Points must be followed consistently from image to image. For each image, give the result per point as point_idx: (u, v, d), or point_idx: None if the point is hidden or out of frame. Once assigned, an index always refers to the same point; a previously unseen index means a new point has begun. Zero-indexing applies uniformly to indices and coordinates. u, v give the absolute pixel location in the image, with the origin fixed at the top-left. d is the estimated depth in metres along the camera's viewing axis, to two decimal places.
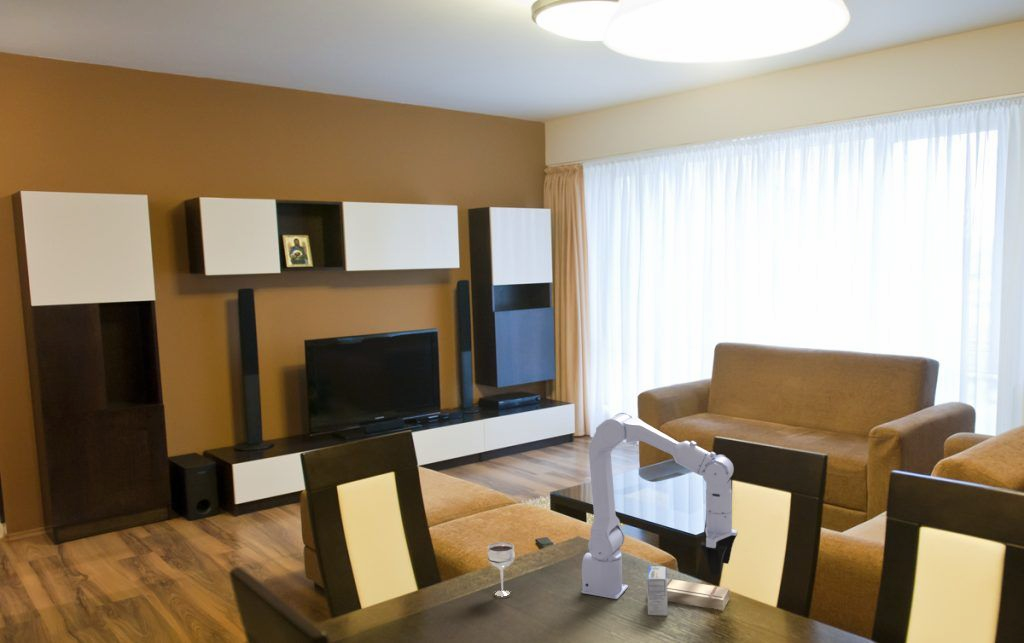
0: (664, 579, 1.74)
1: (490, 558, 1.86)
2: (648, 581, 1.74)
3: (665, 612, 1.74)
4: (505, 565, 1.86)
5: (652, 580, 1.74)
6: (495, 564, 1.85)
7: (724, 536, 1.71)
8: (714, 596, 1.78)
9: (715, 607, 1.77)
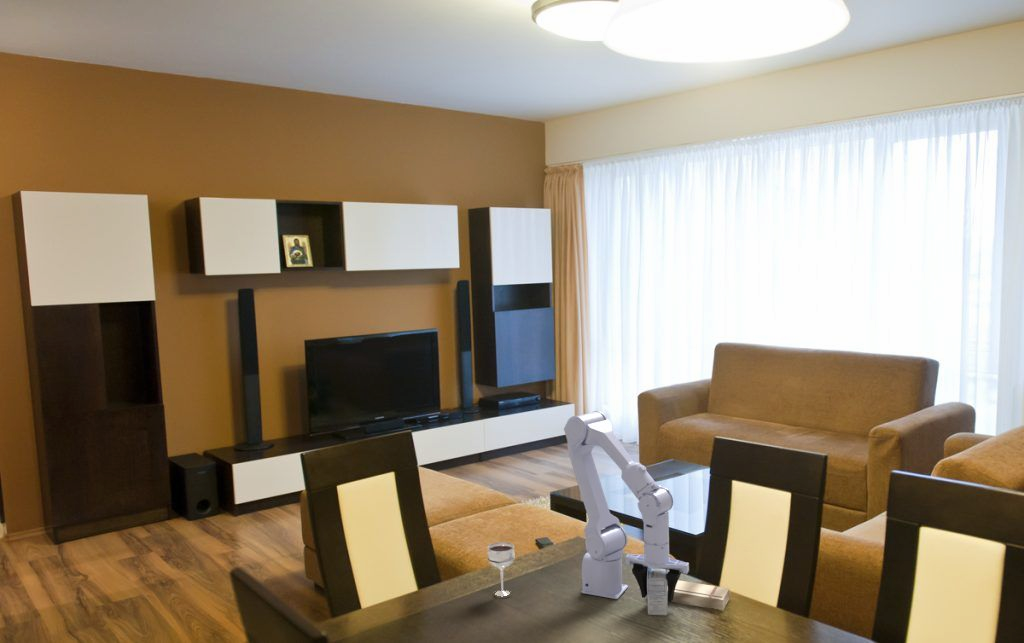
0: (664, 579, 1.74)
1: (490, 558, 1.86)
2: (648, 581, 1.74)
3: (665, 612, 1.74)
4: (505, 565, 1.86)
5: (652, 580, 1.74)
6: (495, 564, 1.85)
7: (640, 561, 1.77)
8: (714, 596, 1.78)
9: (715, 607, 1.77)
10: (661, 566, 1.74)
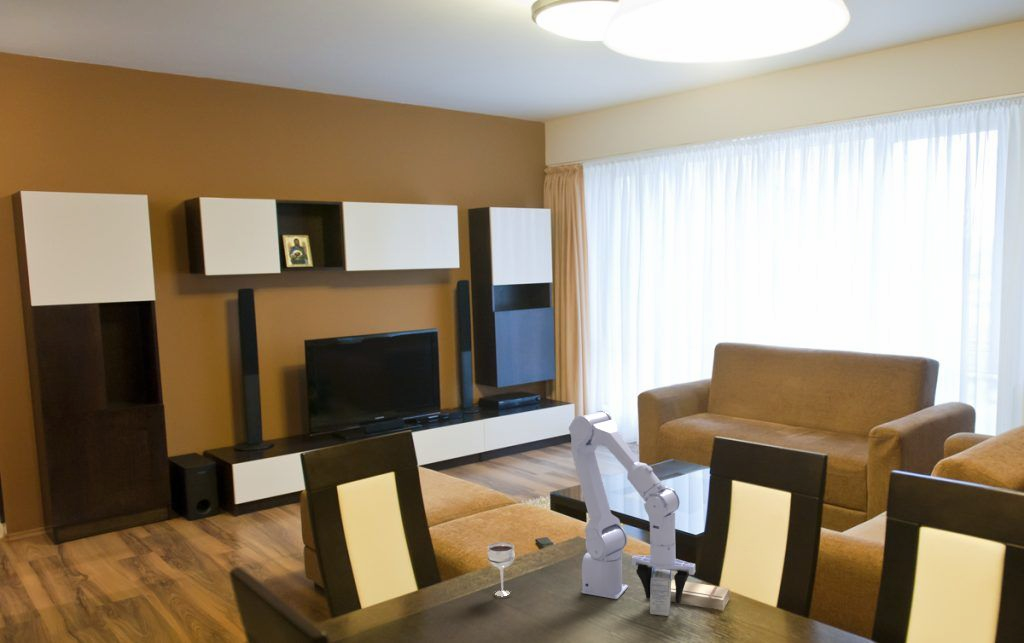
0: (668, 579, 1.73)
1: (490, 558, 1.86)
2: (652, 580, 1.74)
3: (667, 612, 1.74)
4: (505, 565, 1.86)
5: (655, 580, 1.74)
6: (495, 564, 1.85)
7: (646, 562, 1.76)
8: (714, 596, 1.78)
9: (715, 607, 1.77)
10: (667, 567, 1.74)
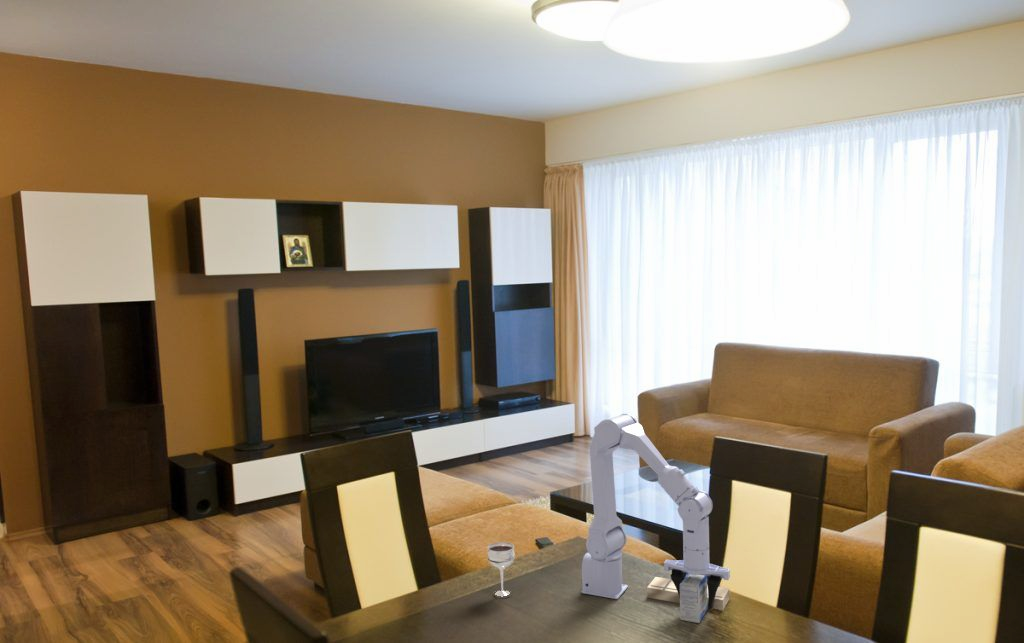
0: (697, 585, 1.70)
1: (490, 558, 1.86)
2: (681, 585, 1.71)
3: (697, 619, 1.70)
4: (505, 565, 1.86)
5: (684, 585, 1.71)
6: (495, 564, 1.85)
7: (679, 567, 1.73)
8: None
9: (715, 607, 1.77)
10: (702, 572, 1.70)
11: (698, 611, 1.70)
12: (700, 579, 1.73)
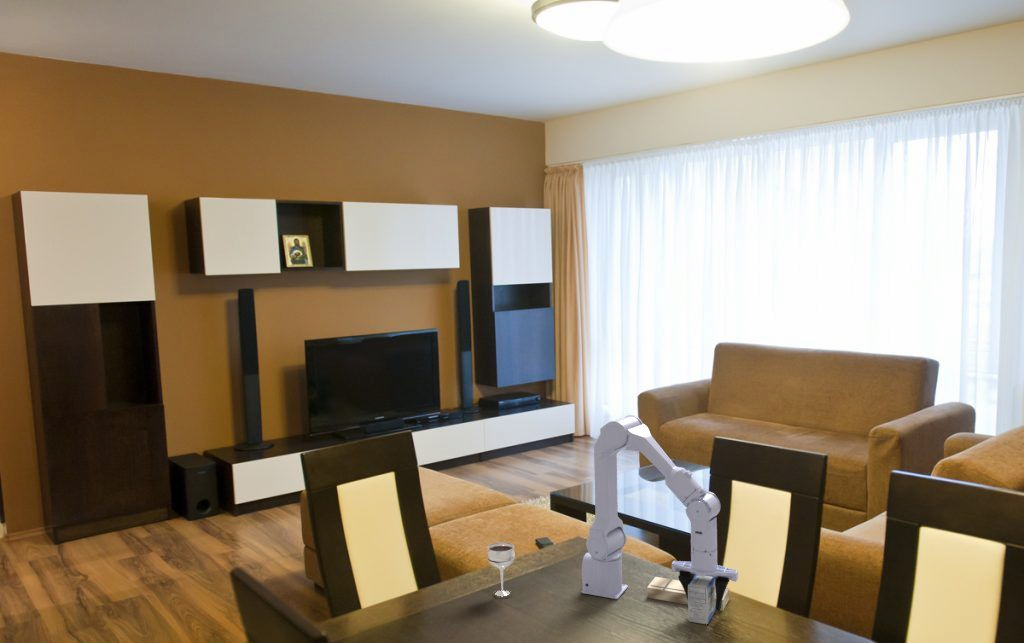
0: (705, 587, 1.69)
1: (490, 558, 1.86)
2: (689, 587, 1.70)
3: (705, 620, 1.69)
4: (505, 565, 1.86)
5: (692, 587, 1.70)
6: (495, 564, 1.85)
7: (687, 568, 1.72)
8: None
9: (715, 607, 1.77)
10: (709, 573, 1.69)
11: (706, 612, 1.69)
12: (708, 580, 1.72)
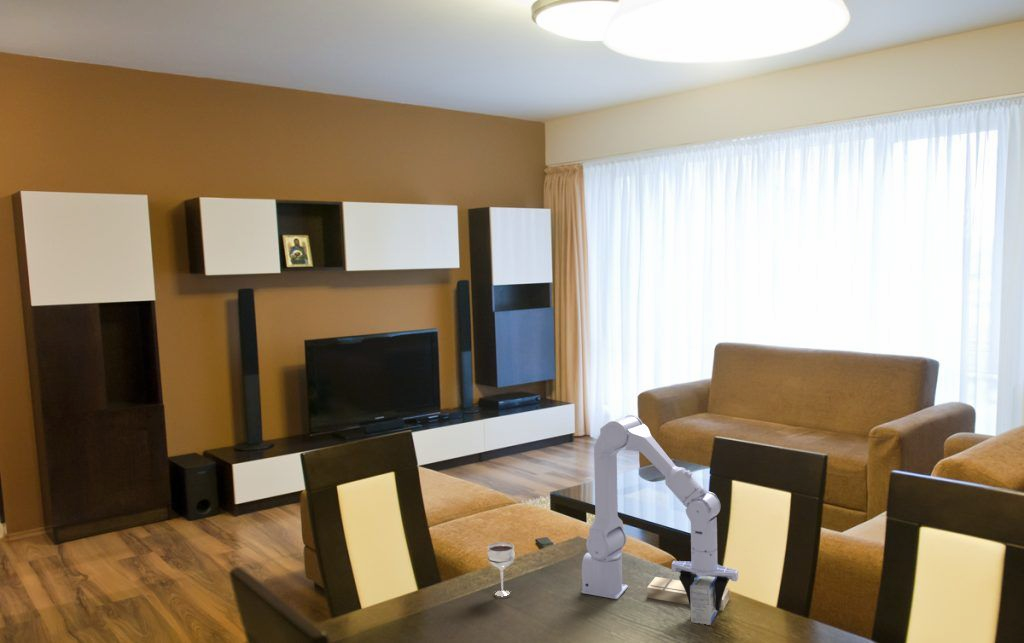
0: (708, 587, 1.68)
1: (490, 558, 1.86)
2: (691, 588, 1.70)
3: (708, 621, 1.69)
4: (505, 565, 1.86)
5: (695, 587, 1.70)
6: (495, 564, 1.85)
7: (687, 568, 1.72)
8: None
9: None
10: (710, 573, 1.69)
11: (709, 613, 1.69)
12: (710, 581, 1.72)
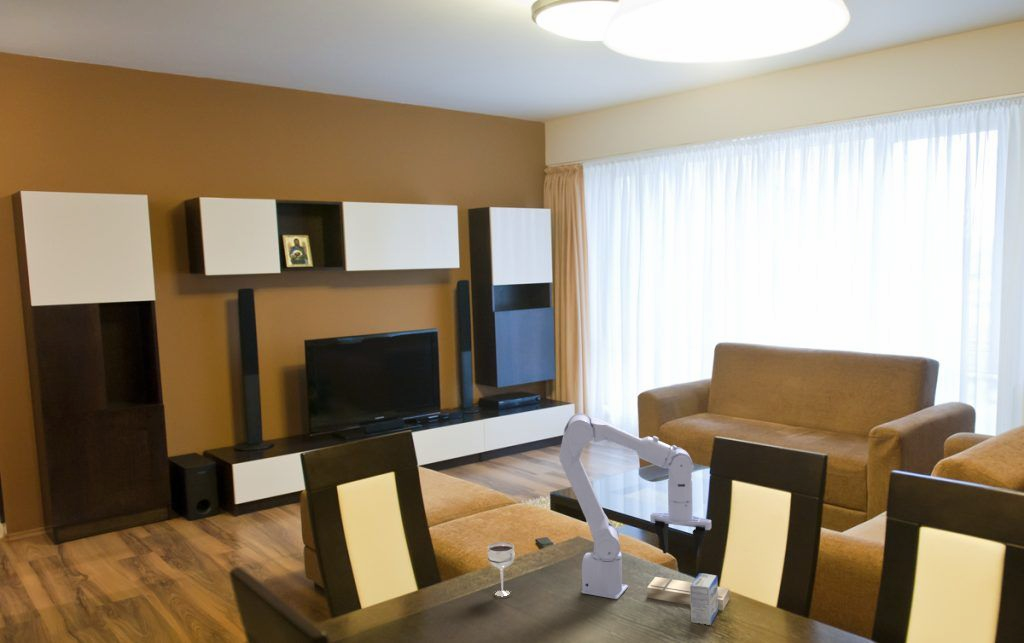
0: (708, 587, 1.68)
1: (490, 558, 1.86)
2: (691, 588, 1.70)
3: (708, 621, 1.69)
4: (505, 565, 1.86)
5: (695, 587, 1.70)
6: (495, 564, 1.85)
7: (664, 519, 1.85)
8: None
9: None
10: (685, 523, 1.83)
11: (709, 613, 1.69)
12: (710, 581, 1.72)
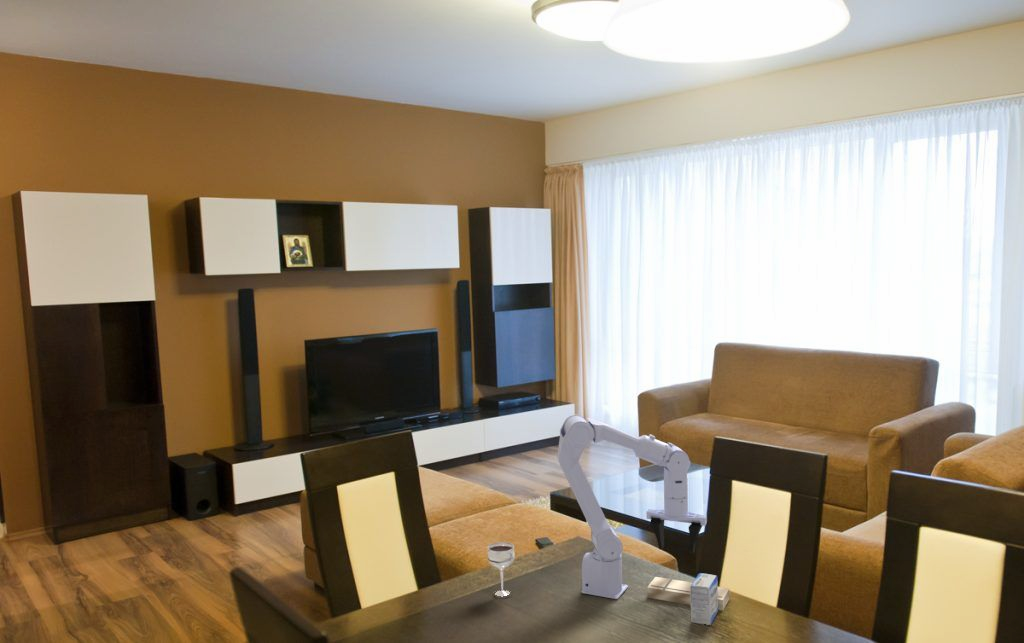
0: (708, 587, 1.68)
1: (490, 558, 1.86)
2: (691, 588, 1.70)
3: (708, 621, 1.69)
4: (505, 565, 1.86)
5: (695, 587, 1.70)
6: (495, 564, 1.85)
7: (660, 515, 1.88)
8: None
9: None
10: (681, 519, 1.85)
11: (709, 613, 1.69)
12: (710, 581, 1.72)
